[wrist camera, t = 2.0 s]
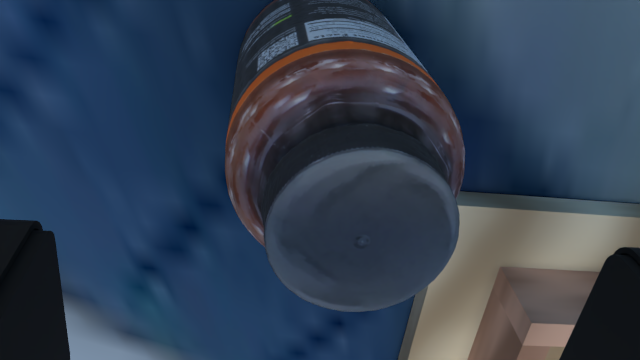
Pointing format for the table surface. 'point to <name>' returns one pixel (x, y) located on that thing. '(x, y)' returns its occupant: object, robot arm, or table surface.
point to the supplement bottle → (342, 155)
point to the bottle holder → (516, 277)
